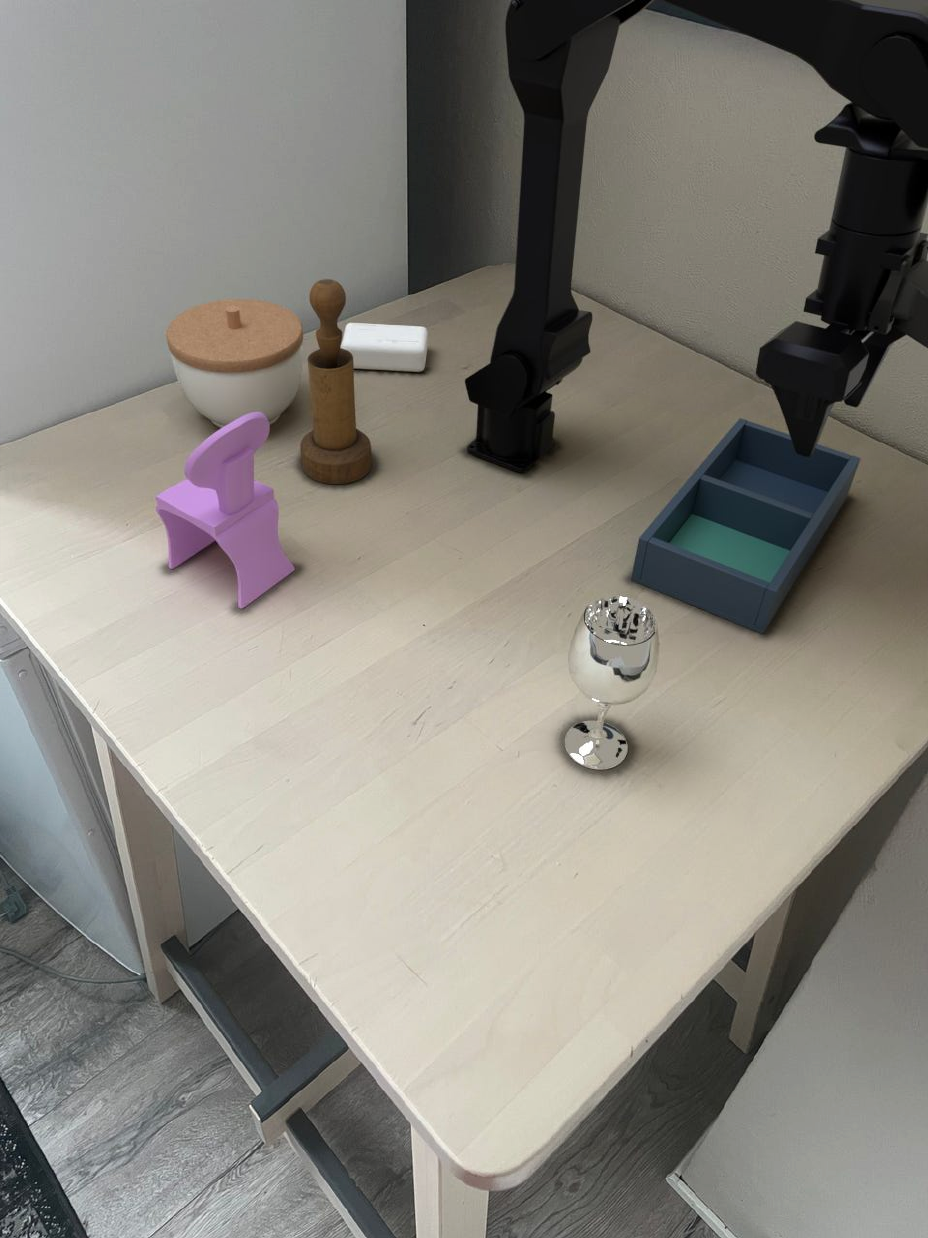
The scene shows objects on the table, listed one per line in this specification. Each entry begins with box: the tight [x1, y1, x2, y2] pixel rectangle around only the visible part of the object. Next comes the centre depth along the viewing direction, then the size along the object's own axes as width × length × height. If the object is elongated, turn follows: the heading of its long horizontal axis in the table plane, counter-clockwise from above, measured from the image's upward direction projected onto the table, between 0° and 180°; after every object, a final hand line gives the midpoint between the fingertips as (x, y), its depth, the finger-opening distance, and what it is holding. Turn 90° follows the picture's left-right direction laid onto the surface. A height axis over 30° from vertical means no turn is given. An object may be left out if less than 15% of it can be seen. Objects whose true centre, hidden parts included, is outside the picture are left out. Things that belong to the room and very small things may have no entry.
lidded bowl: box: [166, 298, 304, 429], centre depth 99 cm, size 13×13×11 cm
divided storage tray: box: [630, 417, 862, 635], centre depth 89 cm, size 12×22×4 cm, turn 148°
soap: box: [340, 322, 429, 373], centre depth 111 cm, size 9×6×3 cm, turn 88°
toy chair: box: [155, 412, 296, 610], centre depth 80 cm, size 8×9×15 cm
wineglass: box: [564, 595, 660, 771], centre depth 68 cm, size 6×6×12 cm
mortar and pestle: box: [299, 278, 373, 485], centre depth 91 cm, size 7×6×18 cm
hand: (828, 429), depth 78 cm, fingers open, 9 cm apart
